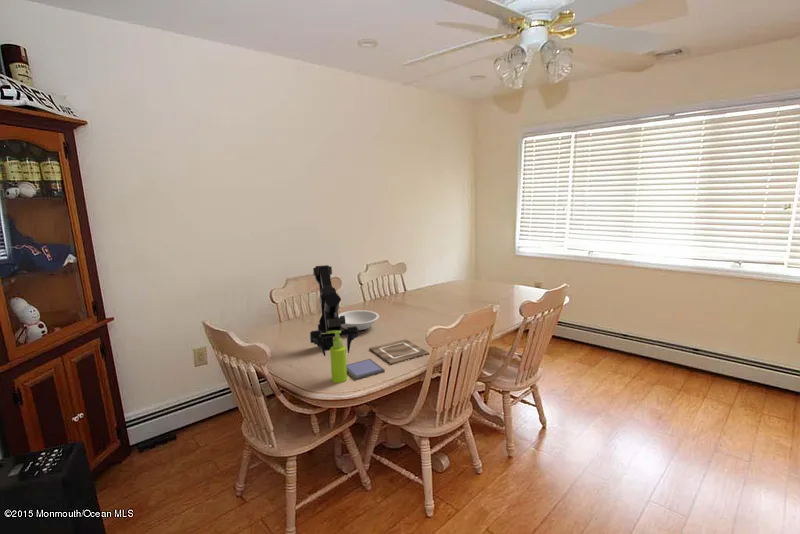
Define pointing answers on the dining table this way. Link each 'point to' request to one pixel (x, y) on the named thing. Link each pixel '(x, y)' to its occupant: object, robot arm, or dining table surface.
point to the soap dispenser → (338, 358)
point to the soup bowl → (359, 319)
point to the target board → (398, 351)
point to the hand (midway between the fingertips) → (336, 354)
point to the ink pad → (363, 369)
